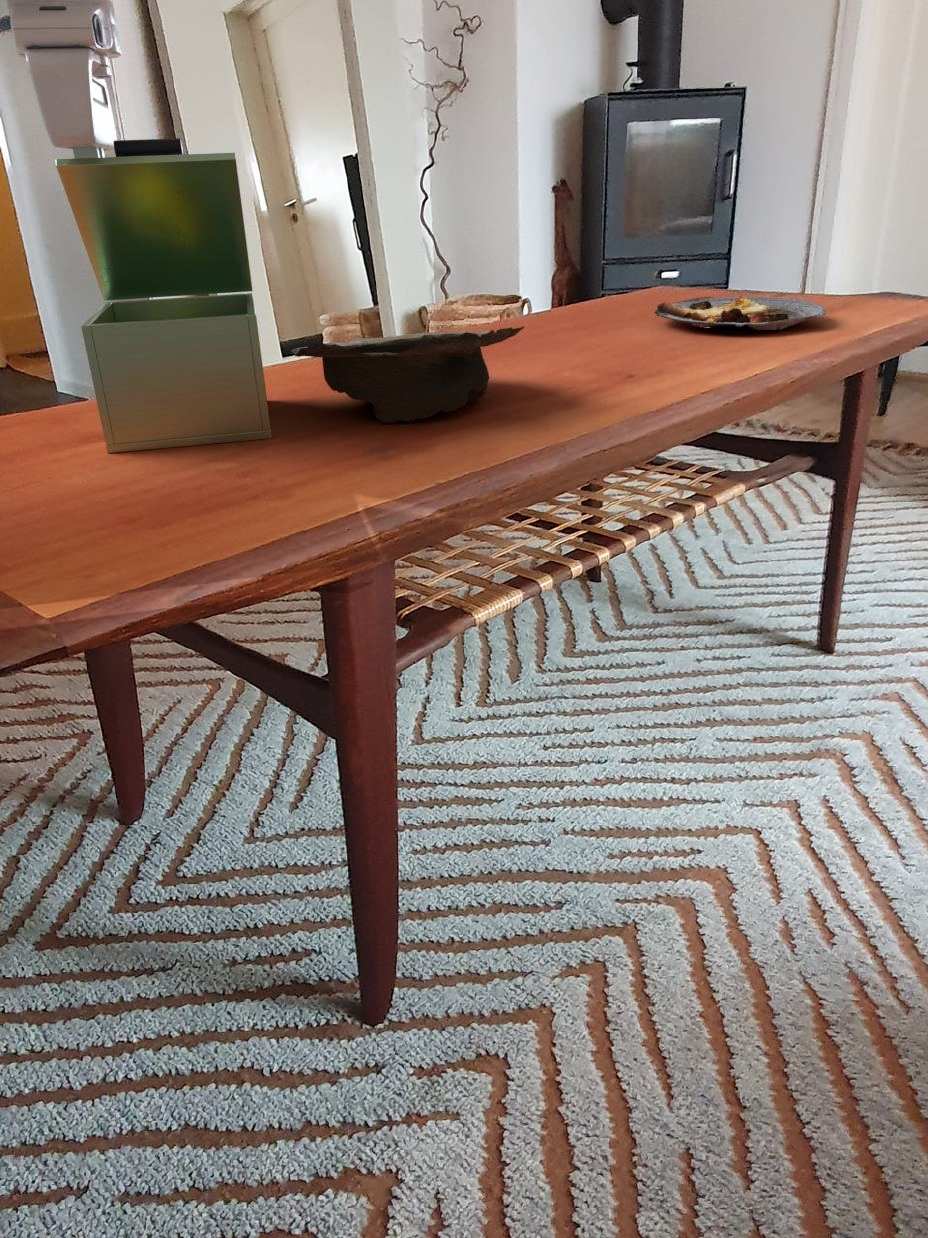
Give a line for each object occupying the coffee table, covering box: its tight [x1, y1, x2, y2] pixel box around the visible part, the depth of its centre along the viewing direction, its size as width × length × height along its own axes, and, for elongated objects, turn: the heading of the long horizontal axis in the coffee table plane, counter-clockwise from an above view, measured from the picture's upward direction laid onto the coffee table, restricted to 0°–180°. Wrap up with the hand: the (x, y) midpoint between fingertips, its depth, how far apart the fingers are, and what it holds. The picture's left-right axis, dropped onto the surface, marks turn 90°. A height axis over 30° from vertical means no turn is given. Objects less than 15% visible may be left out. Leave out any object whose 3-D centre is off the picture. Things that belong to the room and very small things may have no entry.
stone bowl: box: [290, 326, 525, 424], centre depth 102 cm, size 25×25×9 cm
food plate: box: [654, 295, 827, 331], centre depth 143 cm, size 25×23×4 cm
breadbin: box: [80, 292, 273, 454], centre depth 96 cm, size 18×16×12 cm
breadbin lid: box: [55, 137, 254, 302], centre depth 93 cm, size 18×16×5 cm
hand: (98, 202), depth 90 cm, fingers closed
